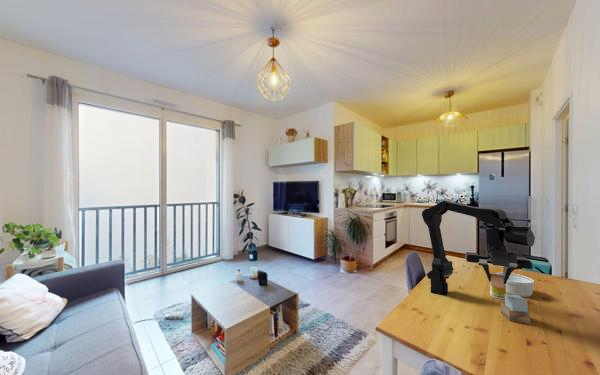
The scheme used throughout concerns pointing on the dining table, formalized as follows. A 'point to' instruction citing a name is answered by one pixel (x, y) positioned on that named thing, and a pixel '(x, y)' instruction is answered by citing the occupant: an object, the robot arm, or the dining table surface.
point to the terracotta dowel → (497, 280)
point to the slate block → (516, 303)
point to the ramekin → (519, 285)
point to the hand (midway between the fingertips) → (497, 282)
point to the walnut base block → (515, 315)
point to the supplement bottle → (498, 292)
